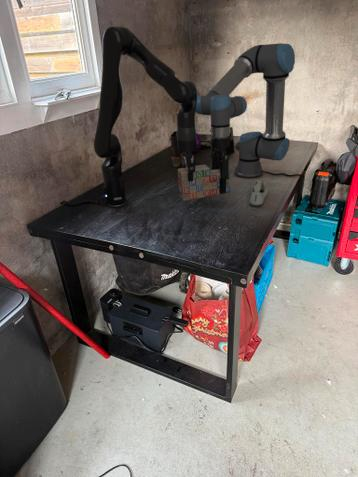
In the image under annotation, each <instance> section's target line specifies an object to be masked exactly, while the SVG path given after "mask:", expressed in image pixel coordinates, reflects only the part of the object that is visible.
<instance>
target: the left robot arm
mask: <svg viewBox="0 0 358 477" xmlns="http://www.w3.org/2000/svg"><path fill="white" fill-rule="evenodd" d="M122 56H127V57H130V58H132V59H133V60H134V61H136V62H137V63H138V64H139V65H140V66H141V67H142V69H143V71H144V72H145V73H146V75H147V76H148V77H149V78H150V79H151V80H152V81H154V83H156V84H157V85H159V86H160V87H161V88H163V89H164V91H165V92H166V93H167V94H168V96H169V97H170V98H171V99H172V100H173V101H174V102H176V103H178V104H180V105H179V109H178V110H177V112H176V131H177V144H178V150H179V151H180V155H181V164H180V165H181V167H182V168H187V172H188V181H189V182H191V181H193V172H195V166H196V157H194V154H193V153H192V152H193V151H195V150H196V149H197V145H196V133H197V127H196V112H195V110H196V104H197V97H198V89H197V86H196V84H195V83H194V82H193V81H191V80H185V81H181V80H180V79H179V78H178V77H177V73H176V71H174V69H172V68H171V67H170V66H169V65H167V64H166V63H165V62H164V61H162V60H161V59H159V57H157V56H156V55H155V54H154V53H152V51H150V50H149V49H148V48H147V47H146V46H145V45H144V44H143V43H142V41H140V39H139V38H138V37H137V36H136V35H135V34H134V33H133V32H132V30H130V29H129V27H125V26H109V27H107V28H106V29H105V30H104V33H103V36H102V69H101V71H102V72H101V84H100V91H99V92H100V93H99V106H98V107H99V108H98V115H97V124H96V128H95V129H96V130H95V134H94V140H93V149H94V153H95V155H96V156H97V157H98V158H100V159H104V161H103V162H102V163H101V164H100V165H101V166H100V168H101V174H102V180H103V186H102V190H103V195H102V196H100V197H99V198H98V200H97V201H94V200H91V199H86V200H85V199H84V200H82V201H79V202H76V203H75V202H74V203H71V202H68V201H67V200H64V199H63V200H62V201H63V202H61V201H60V202H59V204H63V203H65V204H66V205H69V206H78V205H79V206H80V205H81V204H85V203H92V204H95V205H97V204H98V205H99V203H100V202H101V201H102V202H103V203H105V205H107V206H108V207H110V208H119V207H123V206H125V205H127V203H128V201H127V197H126V196H127V195H126V189H125V183H124V175H123V169H122V165H123V155H122V154H123V153H122V145H121V142H120V139H119V137H118V136H117V135H116V134H115V133H113V128H114V126H115V124H116V122H117V120H118V119H119V116H120V115H121V112H122V109H123V102H124V96H125V94H124V93H125V92H124V87H123V83H122V80H121V76H120V67H121V66H120V64H121V59H122ZM191 167H192V169H191V170H190V168H191Z"/></svg>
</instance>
